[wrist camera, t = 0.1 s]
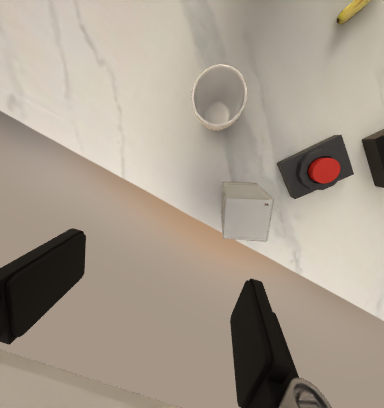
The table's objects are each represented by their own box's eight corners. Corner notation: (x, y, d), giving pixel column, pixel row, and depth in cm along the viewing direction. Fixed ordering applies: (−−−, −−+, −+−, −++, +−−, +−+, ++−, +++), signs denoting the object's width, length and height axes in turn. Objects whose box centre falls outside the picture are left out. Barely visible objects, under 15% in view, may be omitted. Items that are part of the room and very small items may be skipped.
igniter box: (333, 135, 34) (348, 133, 30) (345, 172, 35) (361, 175, 32) (276, 163, 36) (283, 164, 33) (290, 196, 38) (298, 201, 34)
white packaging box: (222, 181, 39) (225, 196, 27) (257, 182, 38) (276, 198, 26) (220, 212, 41) (222, 239, 29) (252, 214, 40) (268, 242, 28)
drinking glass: (239, 126, 35) (255, 113, 21) (207, 140, 37) (202, 136, 23) (228, 91, 34) (237, 50, 19) (195, 107, 35) (182, 79, 21)
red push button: (329, 153, 31) (336, 153, 30) (337, 174, 32) (343, 176, 31) (304, 164, 33) (309, 165, 31) (312, 185, 33) (317, 187, 32)
